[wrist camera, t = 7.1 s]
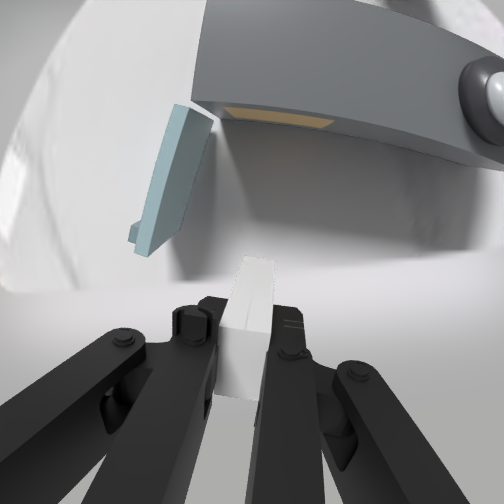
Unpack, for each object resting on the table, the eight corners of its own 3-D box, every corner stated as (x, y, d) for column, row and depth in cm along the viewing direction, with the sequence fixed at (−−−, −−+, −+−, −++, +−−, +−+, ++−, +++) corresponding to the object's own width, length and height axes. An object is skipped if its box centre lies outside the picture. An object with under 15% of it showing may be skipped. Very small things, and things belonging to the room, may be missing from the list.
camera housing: (472, 91, 23) (551, 75, 11) (466, 165, 25) (549, 180, 14) (230, 36, 23) (202, -31, 12) (219, 118, 26) (180, 94, 14)
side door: (192, 114, 25) (159, 100, 17) (214, 120, 25) (189, 107, 17) (160, 222, 28) (121, 247, 20) (180, 229, 28) (147, 257, 20)
